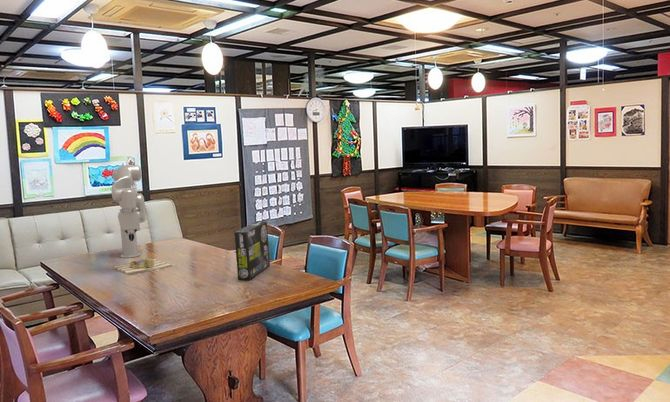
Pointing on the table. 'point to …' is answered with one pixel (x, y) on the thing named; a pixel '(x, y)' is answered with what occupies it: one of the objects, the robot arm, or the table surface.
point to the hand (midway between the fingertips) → (131, 240)
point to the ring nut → (148, 263)
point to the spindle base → (130, 271)
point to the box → (252, 250)
